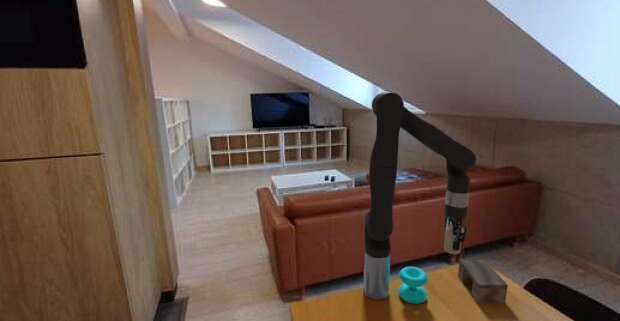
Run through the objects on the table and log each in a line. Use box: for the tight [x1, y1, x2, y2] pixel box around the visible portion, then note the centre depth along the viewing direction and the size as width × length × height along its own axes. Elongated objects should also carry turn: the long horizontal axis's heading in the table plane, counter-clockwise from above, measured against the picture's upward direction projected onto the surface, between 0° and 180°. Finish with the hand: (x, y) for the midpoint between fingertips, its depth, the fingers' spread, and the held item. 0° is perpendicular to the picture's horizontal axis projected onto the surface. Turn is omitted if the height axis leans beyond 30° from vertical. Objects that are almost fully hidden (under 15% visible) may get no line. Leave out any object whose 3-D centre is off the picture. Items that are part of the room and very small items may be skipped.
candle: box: [443, 225, 462, 255], centre depth 110 cm, size 6×6×10 cm
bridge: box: [457, 259, 509, 304], centre depth 116 cm, size 10×16×8 cm, turn 177°
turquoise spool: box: [398, 266, 429, 305], centre depth 112 cm, size 10×10×10 cm
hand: (452, 245), depth 111 cm, fingers closed on candle, 5 cm apart
